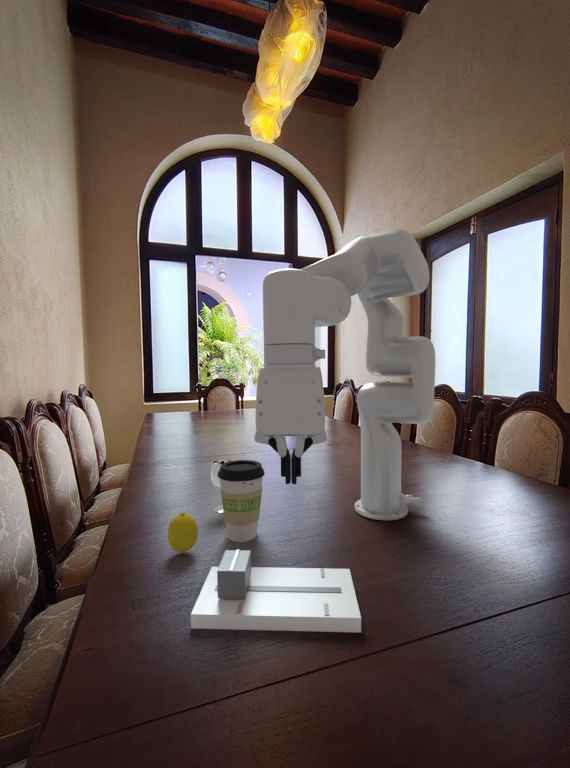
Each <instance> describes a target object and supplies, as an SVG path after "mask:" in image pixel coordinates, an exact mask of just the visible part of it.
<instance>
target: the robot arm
mask: <svg viewBox="0 0 570 768" xmlns="http://www.w3.org/2000/svg"><path fill="white" fill-rule="evenodd" d="M416 240H417V239H415V238H414V236H413V235H412V234H411V233H409V231H407V230H405V229H402V228H398V229H392V230H388V231H387V230H386V231H382V232H376V233H372V234H366V235H363V236H360V237H357V238H355V239H354V240H352V241H351V242H348V243H347V244H346V245H345V246H343V247H342V248H341V249H340V250H339V251H337V252H336V253H335V254H333V255H330V256H327V257H326V258H323V259H321V260H319V261H317V262H315V263H313V264H310V265H308V266H307V265H306V266H305V267H303V268H299V269H298V268H281V269H277V270H276V269H275V270H272V271H270V272H268V273H267V274H266V275H265V276H264V278H263V281H262V316H263V318H262V320H263V321H262V322H263V323H262V324H263V329H262V330H263V367H260V368H259V371H258V377H257V383H256V396H255V433H254V438H253V439H254V441H255V443H259V444H263V445H268V446H270V447H271V448H272V449H273V450H274V451H275V452H276V453H277V455H278V456H279V457H280V477H283V478H284V477H285V485H290V484H292V485H297V477H298V478H299V477H302V456H303V455H304V453H305V452H306V451H308V450H309V448H311V447H312V446H313V445H319V444H322V443H326V442H327V440H328V436H327V432H326V429H325V427H326V408H325V407H326V406H325V405H326V403H325V392H324V384H323V383H324V382H323V374H322V371H321V370H322V369H321V367H320V366H316V362H317V361H320V360H321V359H323V360H324V359H326V349H320V348H318V347H316V328H320V327H331V326H336V325H338V324H341V323H342V322H344V321H345V320H346V319H347V318H348V317H349V315H350V313H351V308H352V297H354V296H355V295H357V297H358V298H359V301H360V303H361V304H362V308H363V309H364V312H365V315H366V318H367V336H366V337H367V339H366V354H365V355H366V357H365V362H366V369H367V372H369V374H370V375H372V376H376V377H388V378H389V377H391V378H393V377H395V378H397V377H398V378H411V379H412V382H400V381H399V382H396V381H373V382H368V383H365V384H363V385H361V387H360V388H359V390H358V392H357V395H356V403H357V410H358V411H357V412H358V415H359V425H360V499H358V500H357V501H355V503H354V510H355V512H356V513H357V514H359V515H360V516H362V517H364V518H368V519H372V520H376V521H396V520H400V519H403V518H405V517H406V516H407V515H408V511H409V510H408V507H409V506H422V504H423V500H422V497H420V496H419V497H418V496H416V497H415V496H413V494H404V493H402V439H401V437H400V434H399V432H398V430H397V429H396V428H395V426H394V425H393V423H399V424H414V425H423V424H427V423H429V422H430V421H431V419H432V418H433V413H434V406H435V386H436V385H435V384H436V350H435V347H434V343H433V341H432V340H431V339H430V338H428V337H426V336H421V335H418V336H417V335H415V336H413V335H412V336H404V324H405V323H404V321H405V320H404V316H403V314H402V312H401V311H400V310H399V308H398V307H397V306H396V305H395V304H394V303H393V302H392V301H391V300H390V299H389V298H398V297H399V298H400V297H407V296H416V295H420V294H421V293H423V292H424V291H425V290H426V289H427V288H428V285H429V283H430V282H429V281H430V270H429V264H428V262H427V260H426V258H425V256H424V253H423V252H422V250H421V247H420V246H419V244H418V242H417V241H416ZM286 437H296V438H295V439H296V440H295V444H294V445H295V446H294V448H293V449H292V453H290V449H289V448H288V445H287V444H288V443H287V439H286Z"/></svg>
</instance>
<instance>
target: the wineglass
mask: <svg viewBox="0 0 570 768" xmlns="http://www.w3.org/2000/svg"><path fill="white" fill-rule="evenodd" d="M230 461H232V460H230V459H217V460H214V461H212V465H211V470H210V479H211V483H212V484H213V485H214V486H215V487H218V488H220V489H221V484H220V478H218V471H219V470H220V467H221V465H222V464H223V463H226V462H230ZM213 511H214V512H215V513H219V514H221V513H222V514H224V512H223V504H222V503H221V505H218V506H216V507H214V510H213Z"/></svg>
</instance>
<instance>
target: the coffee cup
mask: <svg viewBox="0 0 570 768" xmlns="http://www.w3.org/2000/svg"><path fill="white" fill-rule="evenodd" d="M264 476H265V470H264V468H263V466H262V463H261V462H259V461H256V460H250V459H238V460H231V461H230V462H226V463H223V464H222V465H221V467H220V470H219V471H218V478H220V484H221V488H220V496H221V505H222V504H223V512H224V513H223V518H224V522H225V530H226V537H227V539H228V540H230V541H231V542H235V543H236V542H237V543H246V542H249V541H252V540H254V539H255V538H256V537H257V534H258V525H259V520H260V513H261V512H260V511H261V503H262V495H263V486H262V485H263V484H262V483H263V477H264Z"/></svg>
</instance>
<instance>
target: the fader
mask: <svg viewBox="0 0 570 768" xmlns="http://www.w3.org/2000/svg"><path fill="white" fill-rule="evenodd" d="M251 555H252V553H251V550H241V549H240V548H239V549H238V548H237V549H236V550H235V549H234V550H233V549H232V550H231V549H230V550H229V549H225V550H224V553H223V555H222V558H221V561H220V563H219V565H218V567H219V568H218V570H217V589H218V598H242V599H245V598H246V594H247V589H248V585H249V581H250V577H251V567H252V557H251Z"/></svg>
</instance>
